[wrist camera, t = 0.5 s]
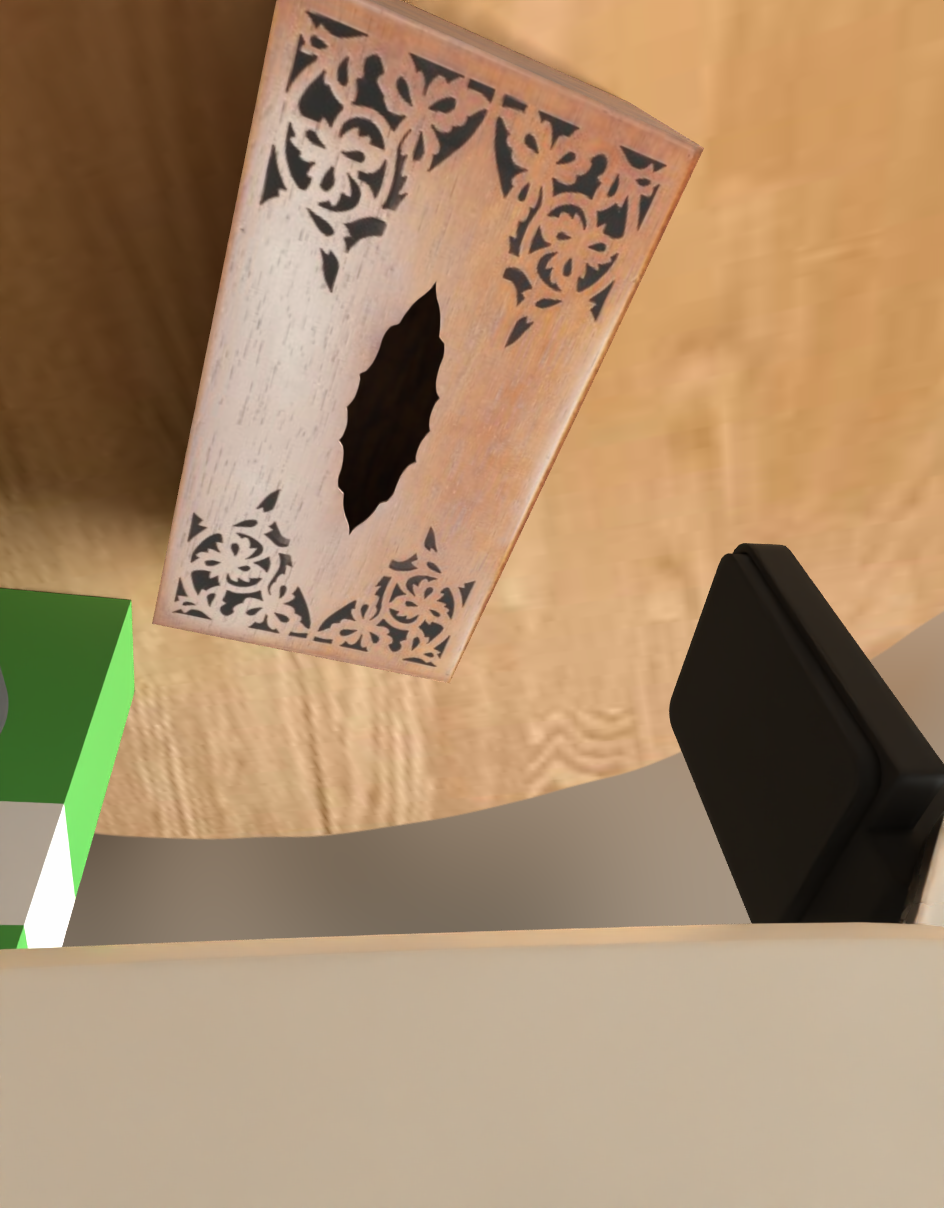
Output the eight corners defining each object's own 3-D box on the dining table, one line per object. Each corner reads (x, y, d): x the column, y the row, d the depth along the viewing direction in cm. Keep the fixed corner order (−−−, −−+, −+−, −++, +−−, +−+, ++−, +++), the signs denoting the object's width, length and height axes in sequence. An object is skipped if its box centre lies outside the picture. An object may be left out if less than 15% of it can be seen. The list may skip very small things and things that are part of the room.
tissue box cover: (300, -45, 33) (283, -38, 25) (629, 102, 37) (703, 148, 29) (185, 508, 47) (152, 623, 39) (434, 568, 51) (449, 683, 43)
